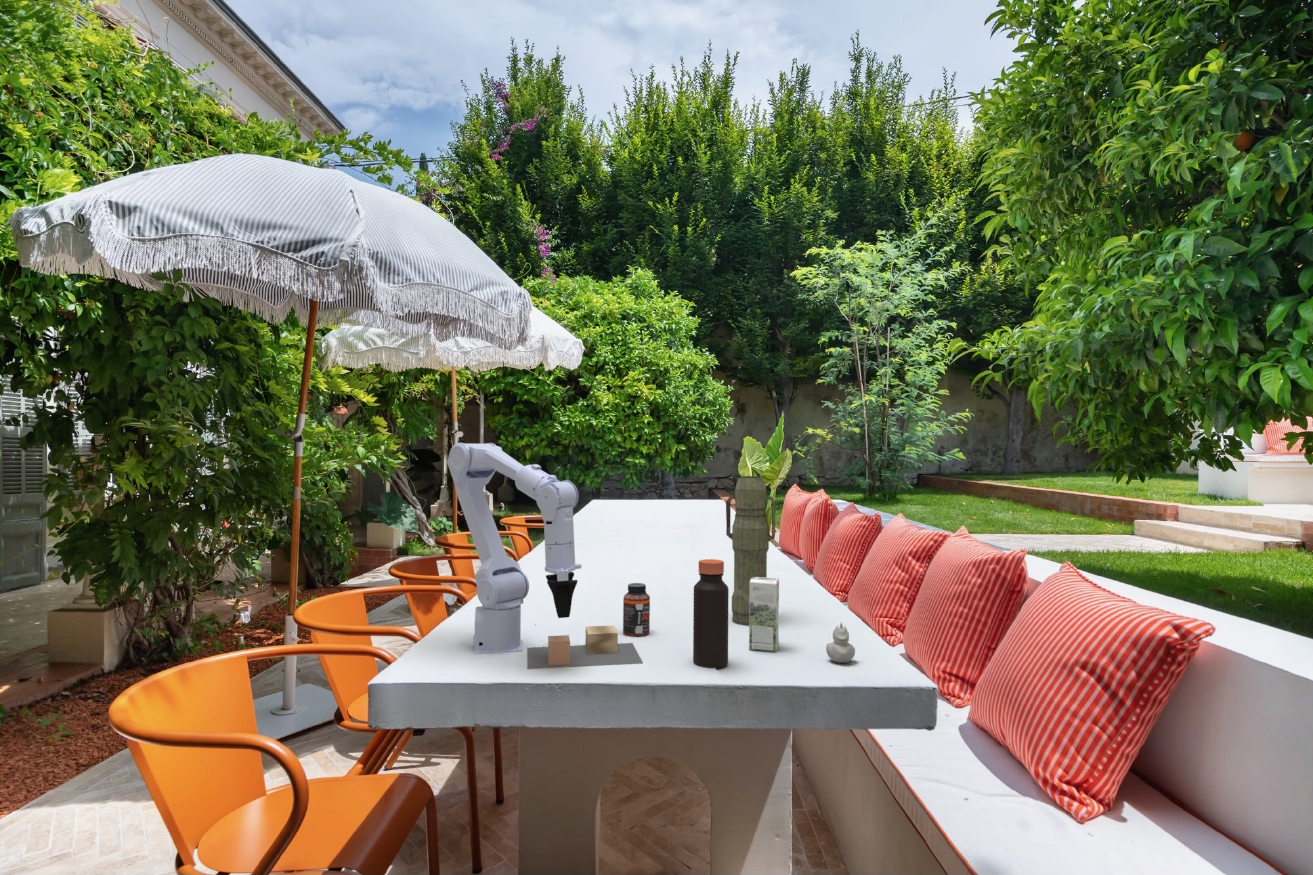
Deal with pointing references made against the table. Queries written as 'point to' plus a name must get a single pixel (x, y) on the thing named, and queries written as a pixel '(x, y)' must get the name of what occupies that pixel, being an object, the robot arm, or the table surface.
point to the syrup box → (763, 614)
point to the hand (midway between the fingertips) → (562, 613)
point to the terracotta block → (558, 650)
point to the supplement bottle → (636, 611)
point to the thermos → (748, 540)
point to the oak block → (601, 639)
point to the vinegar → (710, 616)
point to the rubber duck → (840, 646)
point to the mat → (584, 657)
